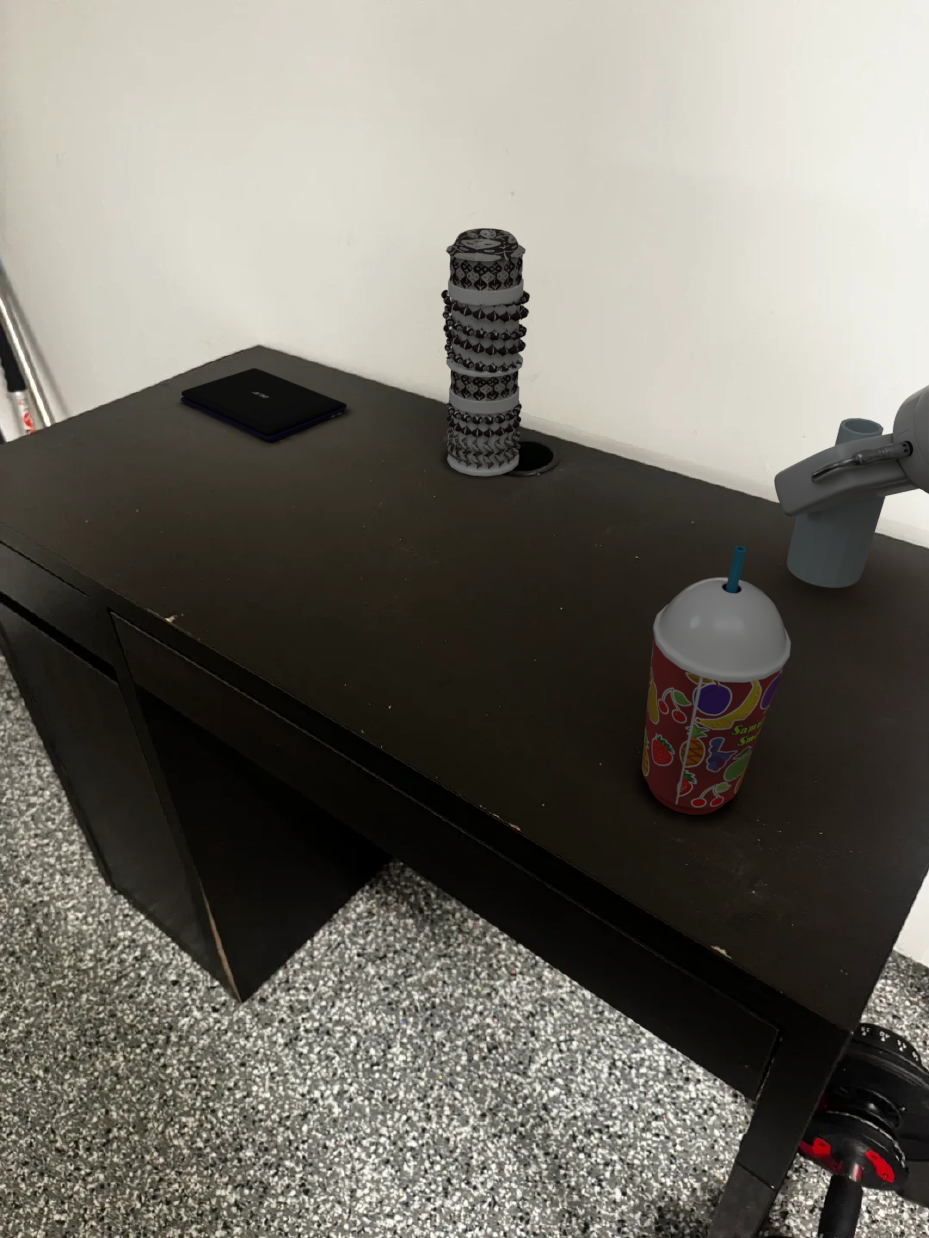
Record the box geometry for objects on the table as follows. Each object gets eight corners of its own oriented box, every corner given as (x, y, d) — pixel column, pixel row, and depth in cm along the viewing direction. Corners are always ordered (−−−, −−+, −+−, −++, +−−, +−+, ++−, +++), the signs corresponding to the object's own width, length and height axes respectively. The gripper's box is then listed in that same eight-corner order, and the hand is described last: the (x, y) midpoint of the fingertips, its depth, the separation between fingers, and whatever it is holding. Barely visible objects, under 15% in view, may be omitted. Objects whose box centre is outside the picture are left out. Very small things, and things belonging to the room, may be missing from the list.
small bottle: (876, 574, 81) (921, 431, 73) (826, 595, 78) (867, 449, 70) (820, 543, 86) (856, 404, 77) (771, 561, 83) (803, 420, 75)
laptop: (278, 371, 127) (277, 357, 125) (358, 416, 114) (357, 401, 113) (174, 399, 118) (171, 385, 117) (247, 451, 106) (245, 436, 105)
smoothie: (742, 844, 60) (813, 602, 48) (618, 813, 62) (657, 573, 50) (752, 759, 66) (817, 526, 54) (639, 733, 68) (678, 503, 56)
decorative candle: (511, 483, 100) (519, 249, 85) (433, 471, 102) (428, 241, 87) (531, 448, 107) (542, 227, 92) (458, 438, 109) (457, 220, 94)
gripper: (857, 502, 62) (747, 552, 75) (1075, 454, 68) (938, 508, 81) (829, 418, 63) (726, 482, 76) (1048, 377, 68) (916, 443, 82)
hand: (837, 495), depth 78 cm, fingers closed on small bottle, 6 cm apart
